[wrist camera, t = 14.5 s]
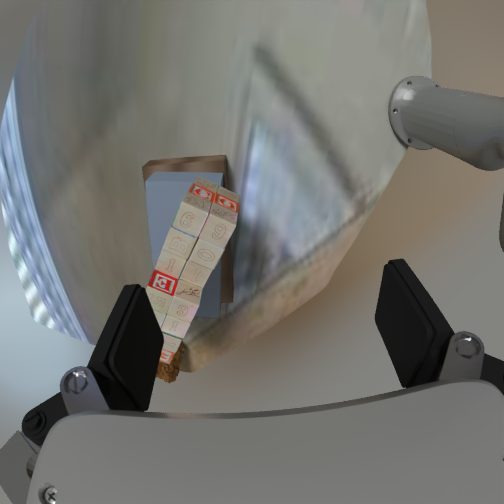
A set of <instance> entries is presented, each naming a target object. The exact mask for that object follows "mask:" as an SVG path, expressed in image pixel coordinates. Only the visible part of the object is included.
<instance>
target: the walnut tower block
mask: <svg viewBox="0 0 504 504" xmlns="http://www.w3.org/2000/svg"><path fill="white" fill-rule="evenodd" d="M142 170H143V178H144V184H145V181H146V180H147V179H148V178H149V177H150V176H151V175H152V174H153V173H154V172H209V173H223V188H225V189H227V190H228V187H227V167H226V155H217V156H199V157H184V158H172V159H161V160H150V161H149V162H148V163H146V164H145V165H144V166H143V167H142ZM145 191H146V188H145ZM233 291H234V287H233V272H232V257H231V241H230V239H229V241H228V243H227V244H226V247H225V250H224V252H223V254H222V256H221V303H226V302H233Z"/></svg>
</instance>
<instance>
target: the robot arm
mask: <svg viewBox="0 0 504 504" xmlns="http://www.w3.org/2000/svg"><path fill="white" fill-rule="evenodd" d="M407 82H408V85H407ZM393 109H394V112H393ZM389 117H390V122H391V125H392V127H393V129H394V131H395V133H396V134H397V136H398V137H399V138H400V139H401V140H402V141H403V142H404V143H405V144H407V145H409V146H411V147H413V148H416V149H419V150H428V149H432V148H434V147H435V148H437V149H440V150H442V151H444V152H446V153H448V154H450V155H452V156H454V157H457V158H459V159H461V160H463V161H465V162H467V163H469V164H470V165H473V166H474V167H476V168H479V169H482V170H486V171H494V170H498V169H502V168H504V97H497V96H492V95H486V94H481V93H475V92H470V91H463V90H457V89H449V88H442V87H441V86H440V85H439V84H438V83H436V82H435V81H433V80H432V79H430V78H427V77H423V76H411V77H408V78H406V79H404V80H402V81H401V82H400V83H399V84H398V85H397V86H396V87H395V89H394V90H393V92H392V95H391V97H390V102H389ZM499 240H500V245H501V248H502V250H503V252H504V195H503V205H502V213H501V221H500V231H499ZM375 322H376V325H377V327H378V330H379V332H380V334H381V337H382V339H383V341H384V344H385V346H386V348H387V351H388V353H389V356H390V358H391V360H392V363H393V365H394V368H395V370H396V373H397V375H398V378H399V381H400V383H401V385H402V387H403V388H405V387H406V389H402V390H398V391H393V392H389V393H384V394H379V395H375V396H370V397H366V398H361V399H355V400H350V401H344V402H338V403H331V404H325V405H318V406H310V407H303V408H294V409H285V410H273V411H260V412H243V413H214V414H213V413H212V414H192V413H191V414H190V413H189V414H188V413H186V414H185V413H159V412H144V411H147V410H148V408H149V403H150V399H151V394H152V390H153V386H154V381H155V377H156V373H157V369H158V365H159V361H160V357H161V353H162V349H163V345H164V336H163V333H162V331H161V328H160V326H159V323H158V321H157V318H156V316H155V313H154V311H153V308H152V306H151V303H150V300H149V298H148V295H147V292H146V290H145V288H143V287H141V286H140V285H139V284H132V285H125V286H124V288H123V290H122V292H121V294H120V296H119V298H118V300H117V302H116V304H115V306H114V308H113V310H112V312H111V314H110V316H109V318H108V320H107V322H106V325H105V327H104V329H103V331H102V333H101V335H100V338H99V340H98V342H97V344H96V347H95V349H94V351H93V354H92V356H91V358H90V361H89V363H88V366H87V367H82V366H79V367H74V368H72V369H70V370H69V371H67V372H66V374H65V375H64V376H63V377H62V379H61V382H60V391H61V392H59V393H57V394H56V395H54V396H53V397H51V398H50V399H48V400H46V401H45V402H43V403H41V404H40V405H38V406H37V407H35V408H33V409H32V410H30V411H29V412H28V413H27V414H26V415H25V417H24V419H23V421H22V431H21V432H19V431H17V432H16V433H15V434H14V435H13V436H12V437H11V438H10V439H9V440H8V442H7V443H6V444H5V445H4V446H3V447H2V448H1V449H0V485H1V486H2V488H3V490H4V491H5V493H6V494H7V496H8V497H9V499H10V500H11V502H12V503H13V504H504V361H502V360H500V359H497V358H495V357H492V356H490V355H487V354H485V353H484V345H483V343H482V341H481V340H480V338H479V337H477V336H476V335H475V334H472V333H470V332H466V331H463V332H458V333H454V331H453V330H452V328H451V327H450V325H449V324H448V322H447V320H446V319H445V317H444V316H443V314H442V313H441V311H440V310H439V308H438V307H437V305H436V304H435V303H434V301H433V299H432V298H431V296H430V295H429V293H428V292H427V291H426V289H425V288H424V287H423V285H422V284H421V282H420V281H419V279H418V278H417V277H416V275H415V274H414V272H413V271H412V270H411V268H410V267H409V266H408V264H407V263H406V261H405V260H404V259H396V260H390V261H389V262H388V264H386V265H385V266H384V270H383V276H382V282H381V287H380V293H379V298H378V303H377V308H376V313H375Z"/></svg>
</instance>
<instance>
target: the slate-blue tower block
mask: <svg viewBox="0 0 504 504" xmlns="http://www.w3.org/2000/svg"><path fill="white" fill-rule="evenodd" d="M197 176H198V177H201V178H204V179H206V180H208V181H210V182H213V183H215V184H217V185H218V186H221V187H223V173H209V172H154V173H153V174H152V175H151V176H150V177H149V178H148V179H147V180H146V181H145V188H146V202H147V213H148V224H149V234H150V243H151V252H152V260H153V267H154V269H155V267H156V264H157V261H158V258H159V255H160V253H161V250H162V248H163V245H164V243H165V240H166V237H167V235H168V232H169V230H170V228H171V225H172V223H173V221H174V218H175V216H176V214H177V211H178V209H179V206H180V204H181V202H182V200H183V198H184V196H185V194H186V192H188V191H189V189H190V187H191V185H192V184H193V183H194V181H195V179H196V177H197ZM220 305H221V258H220V260H219V262H218V263H217V265H216V267H215V269H214V270H213V271H212V273H211V275H210V276H209V278H208V280H207V282H206V284H205V286H204V288H203V290H202V295H201V300H200V305H199V308H198V310H197V312H196V314H195V316H194V317H204V318H219V315H220Z"/></svg>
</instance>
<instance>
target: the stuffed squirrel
mask: <svg viewBox="0 0 504 504" xmlns="http://www.w3.org/2000/svg"><path fill="white" fill-rule="evenodd" d="M184 350H185V348H183V346H182V343H180V345H179V347H178V350H177V352H176V353H175V354H174V356H173V358H172V360H171V362H170V364H167V363H164V362H161V361H159V365H158V369H157V373H156V377H159V378H160V379H164V381H165V382H168V383H171V382H173V381H175V380H176V376H178V373H179V365H180V363H181V358H182V357H181V354H182V353H183V352H184ZM156 377H155V378H156Z"/></svg>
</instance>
